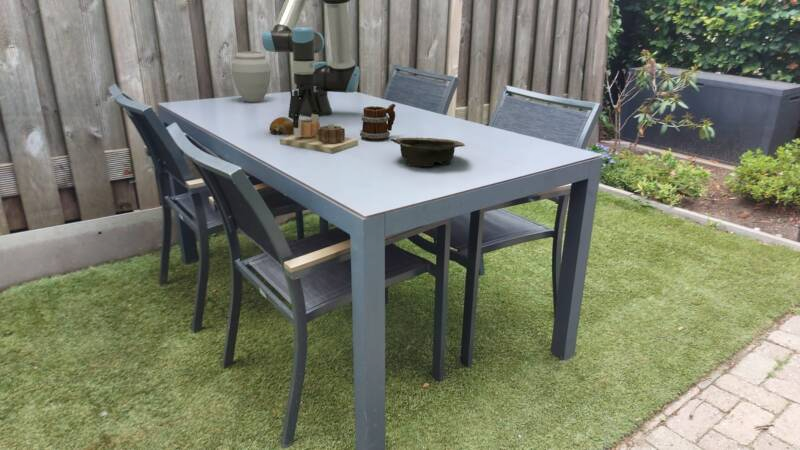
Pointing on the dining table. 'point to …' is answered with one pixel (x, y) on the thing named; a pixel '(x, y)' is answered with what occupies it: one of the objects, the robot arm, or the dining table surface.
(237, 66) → the vase
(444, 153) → the stone bowl
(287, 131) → the bread roll
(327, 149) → the peg board
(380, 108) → the mug
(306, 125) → the gear
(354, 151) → the dining table surface
